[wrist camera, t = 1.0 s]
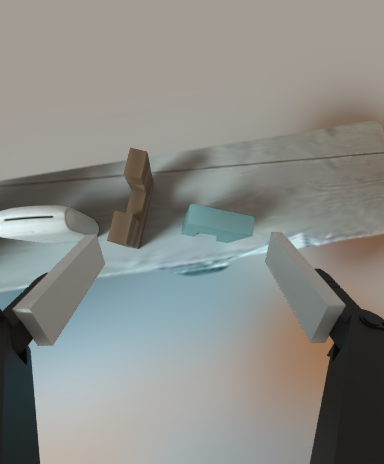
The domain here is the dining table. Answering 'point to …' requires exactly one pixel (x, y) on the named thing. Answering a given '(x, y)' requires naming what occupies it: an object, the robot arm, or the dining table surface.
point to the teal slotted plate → (217, 223)
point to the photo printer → (46, 224)
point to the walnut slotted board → (133, 202)
